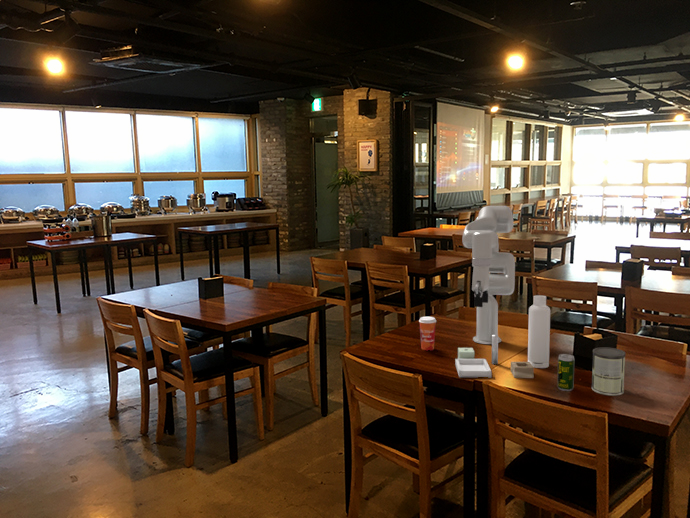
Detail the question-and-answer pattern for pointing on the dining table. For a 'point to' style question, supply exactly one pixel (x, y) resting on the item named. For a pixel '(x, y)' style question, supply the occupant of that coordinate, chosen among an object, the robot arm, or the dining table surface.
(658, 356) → the dining table surface
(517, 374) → the beige square block
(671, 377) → the dining table surface
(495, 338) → the rod
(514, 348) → the dining table surface
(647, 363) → the dining table surface
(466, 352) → the green block
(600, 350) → the coffee can
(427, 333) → the paper cup
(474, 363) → the grey tray
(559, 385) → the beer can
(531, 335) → the bottle
